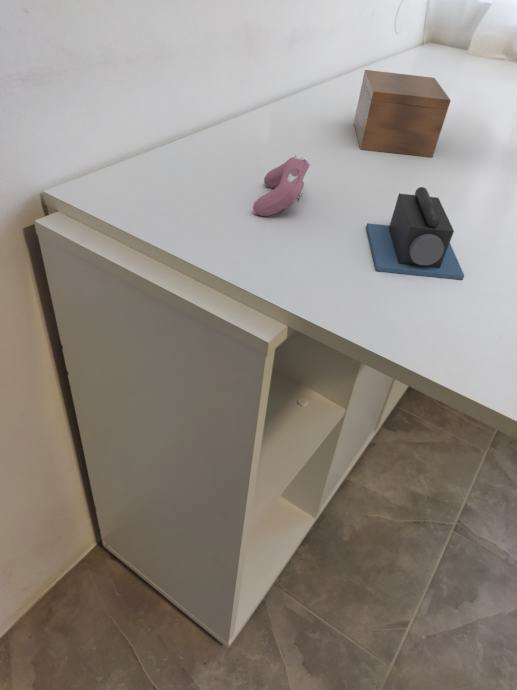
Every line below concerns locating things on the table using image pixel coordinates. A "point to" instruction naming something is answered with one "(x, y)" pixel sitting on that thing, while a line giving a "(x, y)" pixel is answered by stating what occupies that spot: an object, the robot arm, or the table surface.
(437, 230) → the dark grey boxy piece
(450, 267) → the felt pad
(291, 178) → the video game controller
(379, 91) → the wooden block
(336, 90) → the table surface
